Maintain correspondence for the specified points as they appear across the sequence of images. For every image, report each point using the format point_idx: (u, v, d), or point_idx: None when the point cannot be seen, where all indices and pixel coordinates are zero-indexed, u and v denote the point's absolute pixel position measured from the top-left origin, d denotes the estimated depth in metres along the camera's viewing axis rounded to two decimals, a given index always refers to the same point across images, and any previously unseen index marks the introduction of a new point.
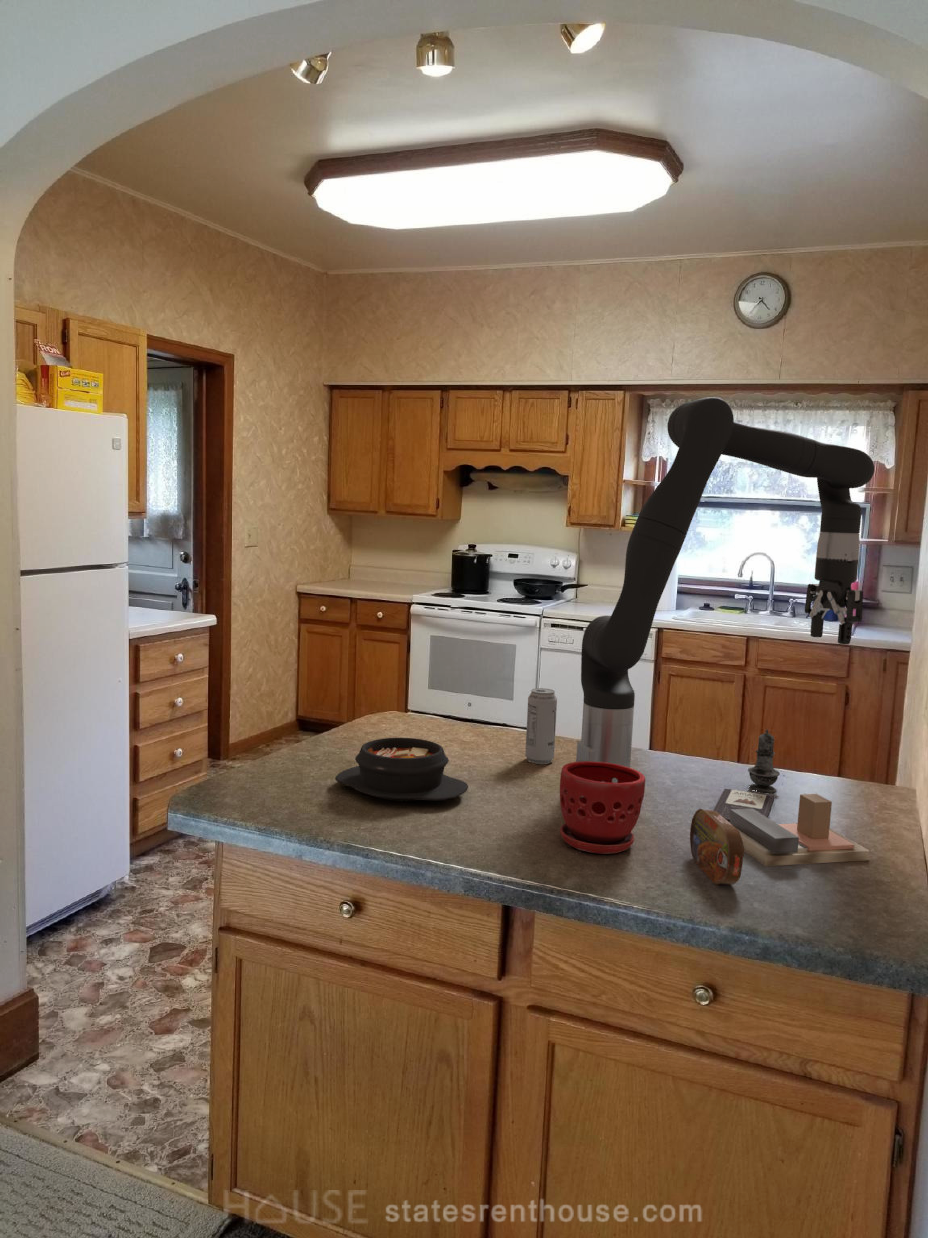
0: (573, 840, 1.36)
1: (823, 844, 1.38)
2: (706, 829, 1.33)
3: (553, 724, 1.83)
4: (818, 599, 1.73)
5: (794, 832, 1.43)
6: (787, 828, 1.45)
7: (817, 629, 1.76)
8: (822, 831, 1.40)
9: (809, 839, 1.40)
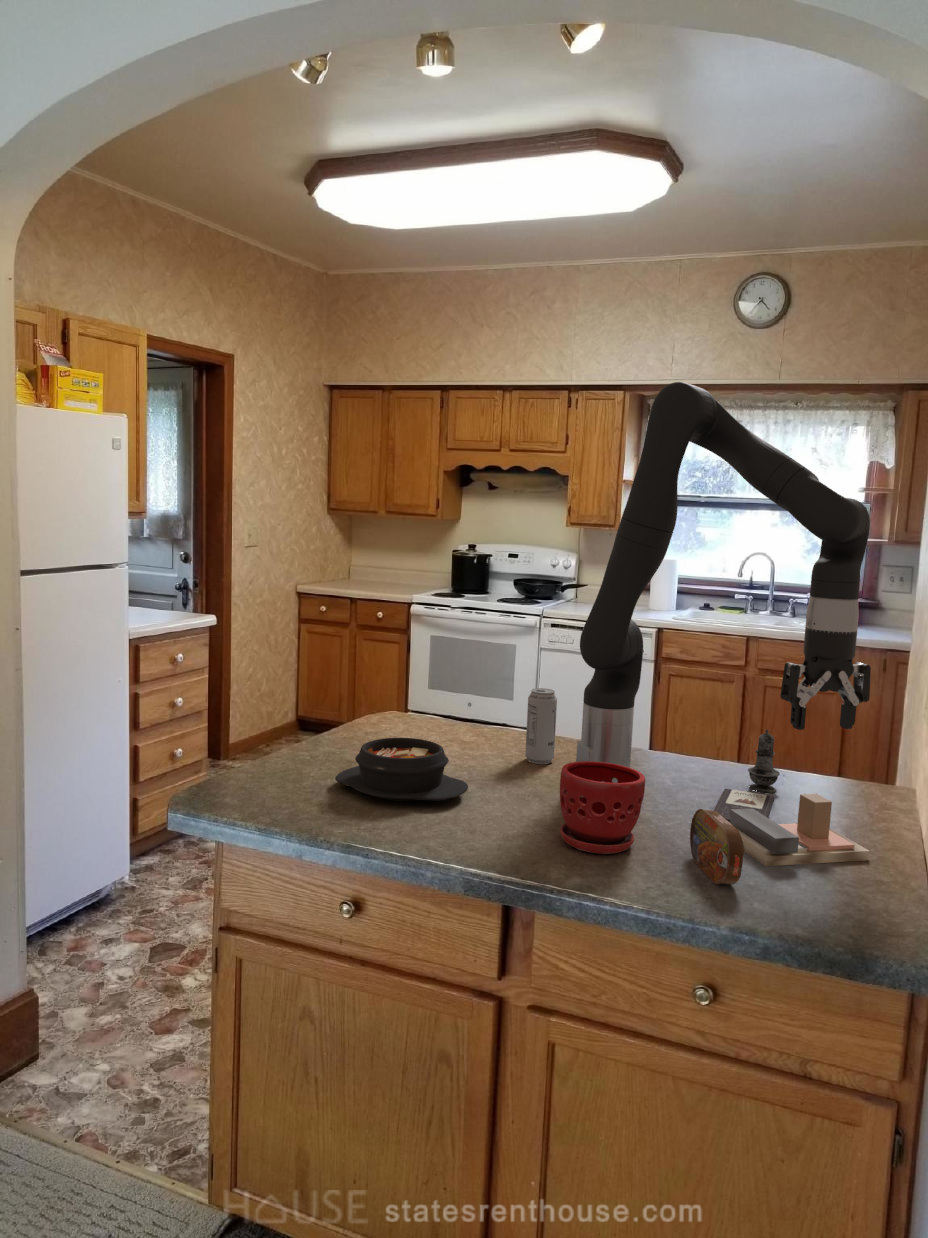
0: (573, 840, 1.36)
1: (823, 844, 1.38)
2: (706, 829, 1.33)
3: (553, 724, 1.83)
4: (820, 682, 1.37)
5: (794, 832, 1.43)
6: (787, 828, 1.45)
7: None
8: (822, 831, 1.40)
9: (809, 839, 1.40)
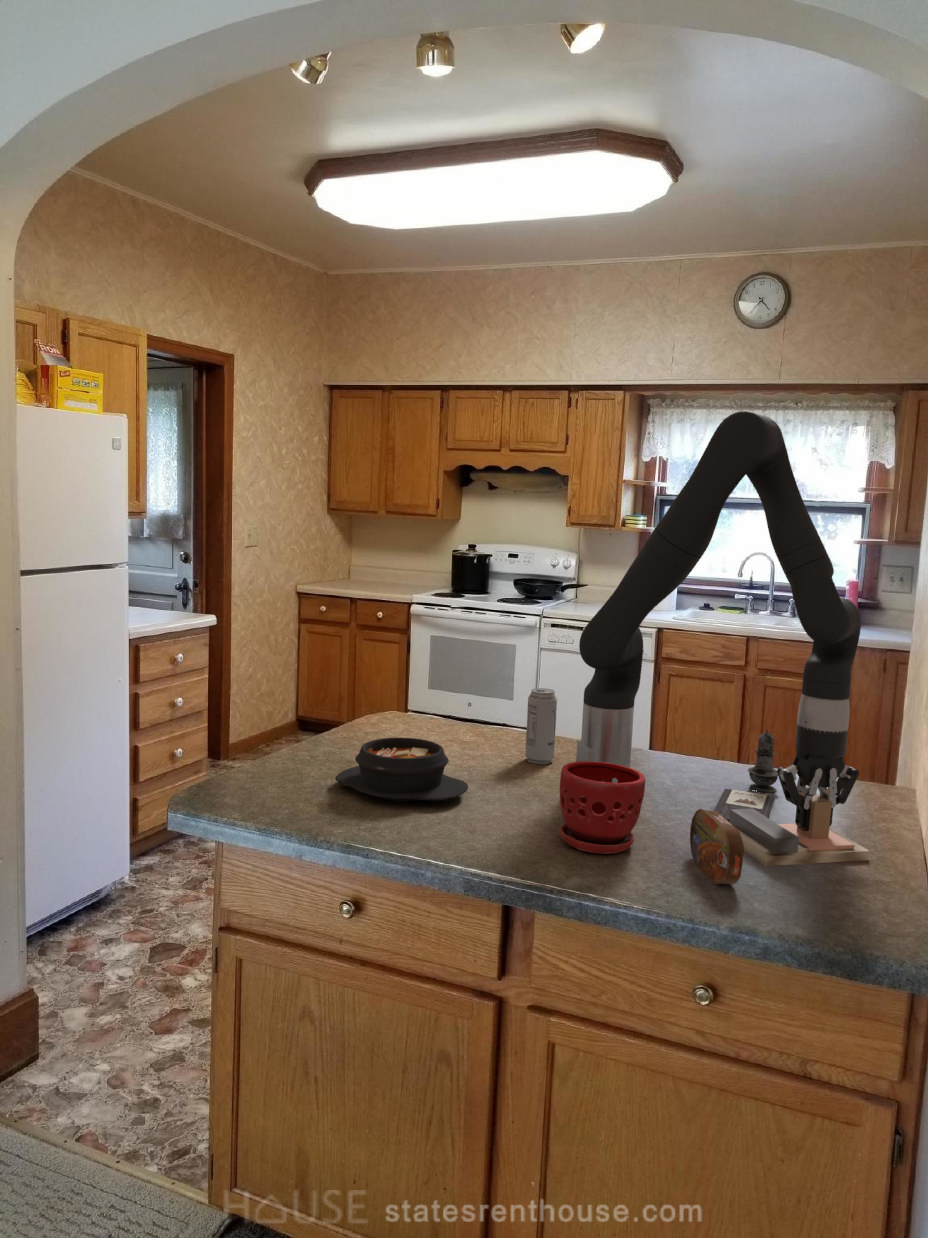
0: (573, 840, 1.36)
1: (823, 844, 1.38)
2: (706, 829, 1.33)
3: (553, 724, 1.83)
4: (815, 781, 1.39)
5: (794, 832, 1.43)
6: (787, 828, 1.45)
7: None
8: (822, 831, 1.40)
9: (809, 839, 1.40)
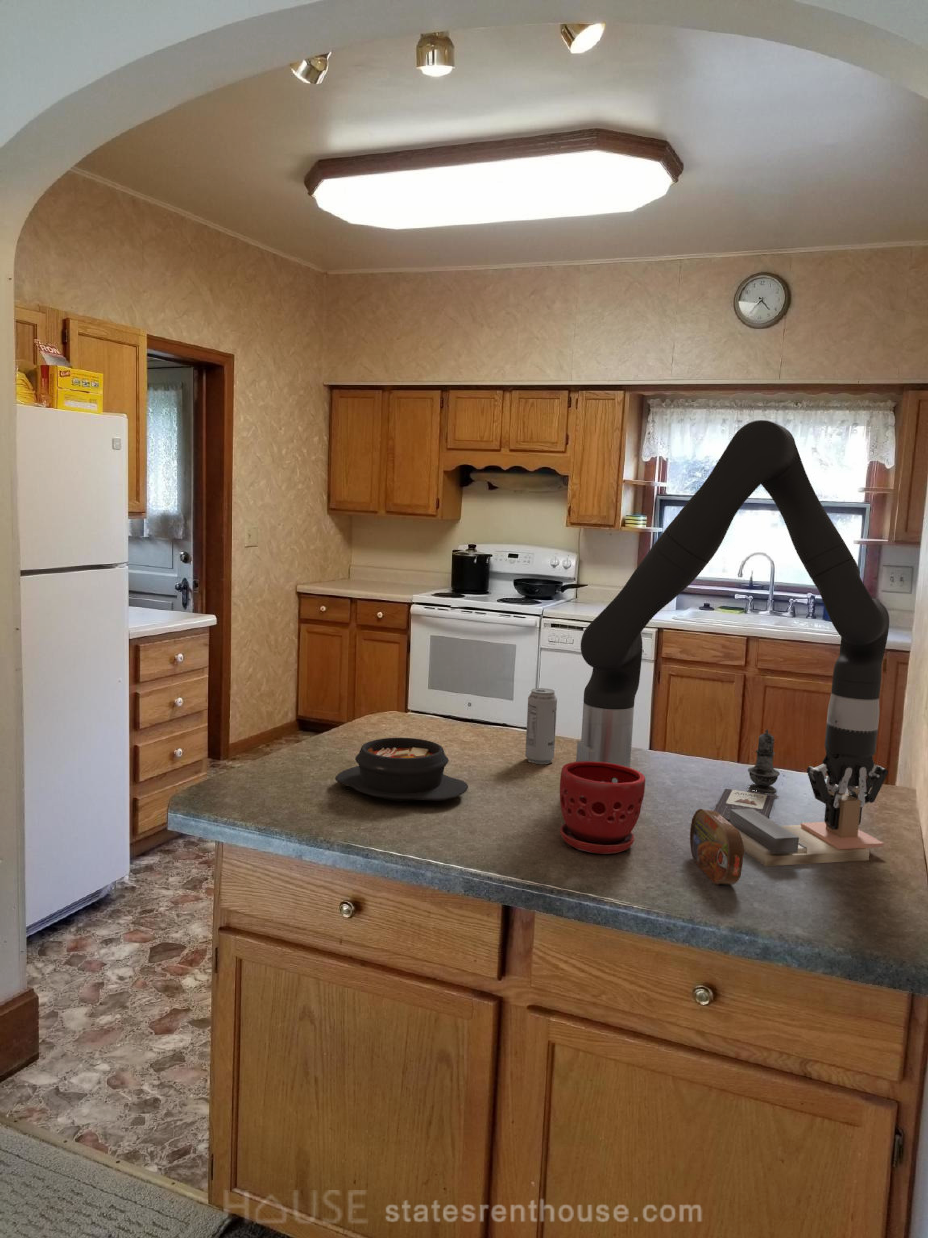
0: (573, 840, 1.36)
1: (853, 842, 1.39)
2: (706, 829, 1.33)
3: (553, 724, 1.83)
4: (845, 780, 1.41)
5: (823, 831, 1.44)
6: (816, 827, 1.46)
7: None
8: (851, 830, 1.42)
9: (838, 837, 1.41)
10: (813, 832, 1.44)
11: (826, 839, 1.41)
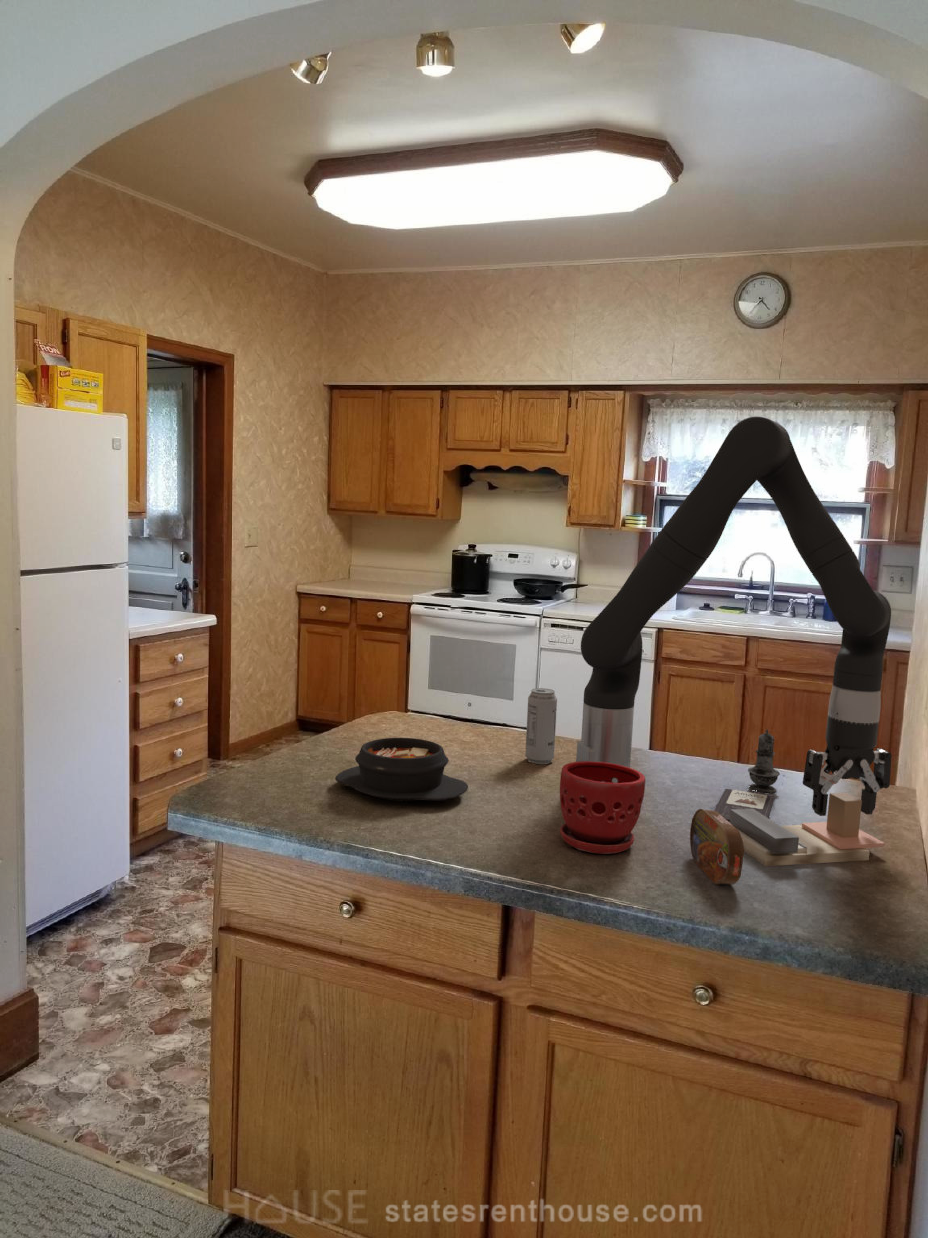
0: (573, 840, 1.36)
1: (853, 842, 1.39)
2: (706, 829, 1.33)
3: (553, 724, 1.83)
4: (842, 770, 1.40)
5: (824, 831, 1.44)
6: (816, 827, 1.46)
7: None
8: (852, 830, 1.42)
9: (839, 837, 1.41)
10: (814, 832, 1.44)
11: (827, 839, 1.41)
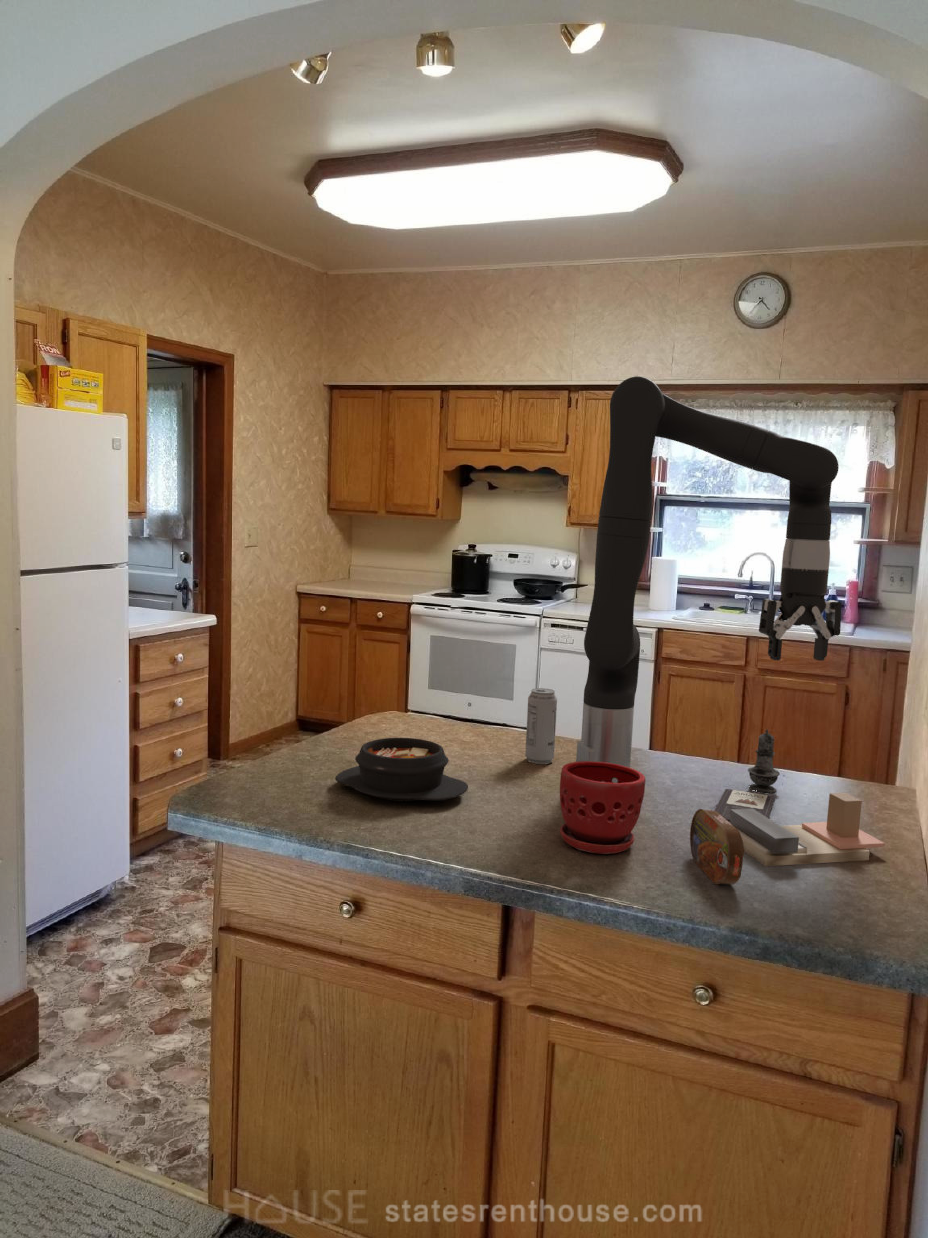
0: (573, 840, 1.36)
1: (853, 842, 1.39)
2: (706, 829, 1.33)
3: (553, 724, 1.83)
4: (795, 616, 1.51)
5: (824, 831, 1.44)
6: (816, 827, 1.46)
7: None
8: (852, 830, 1.42)
9: (839, 837, 1.41)
10: (814, 832, 1.44)
11: (827, 839, 1.41)
